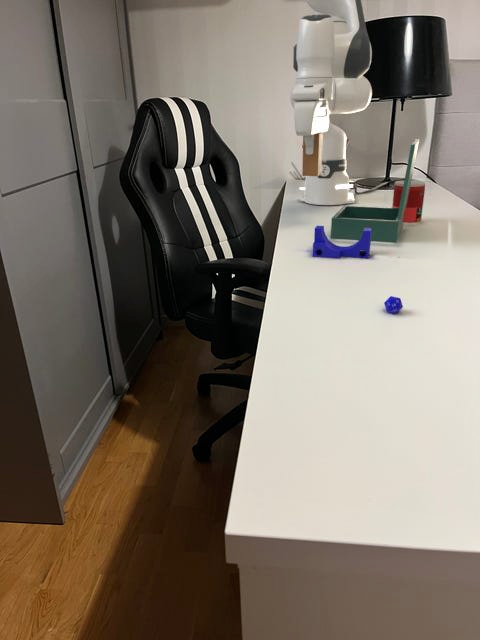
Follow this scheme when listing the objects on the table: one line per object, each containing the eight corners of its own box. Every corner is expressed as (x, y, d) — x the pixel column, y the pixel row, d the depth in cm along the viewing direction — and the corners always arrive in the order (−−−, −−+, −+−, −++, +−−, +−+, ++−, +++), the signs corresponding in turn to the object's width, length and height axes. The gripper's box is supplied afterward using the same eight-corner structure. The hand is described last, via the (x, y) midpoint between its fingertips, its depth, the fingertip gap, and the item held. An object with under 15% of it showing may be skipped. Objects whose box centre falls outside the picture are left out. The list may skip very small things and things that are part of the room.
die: (405, 314, 80) (402, 303, 78) (389, 319, 81) (385, 308, 79) (401, 301, 82) (397, 290, 80) (385, 305, 83) (381, 295, 81)
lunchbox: (330, 241, 123) (331, 218, 121) (342, 226, 137) (344, 205, 135) (396, 245, 118) (398, 221, 115) (402, 230, 132) (404, 208, 130)
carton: (306, 174, 129) (307, 132, 125) (321, 174, 128) (322, 132, 124) (302, 176, 126) (303, 133, 122) (317, 176, 124) (319, 133, 120)
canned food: (422, 225, 136) (427, 184, 131) (391, 225, 137) (395, 184, 133) (419, 219, 143) (423, 180, 138) (390, 219, 144) (393, 180, 140)
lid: (411, 144, 108) (415, 144, 108) (415, 139, 123) (419, 139, 122) (397, 219, 115) (400, 219, 115) (402, 206, 129) (406, 206, 129)
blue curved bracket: (312, 256, 111) (313, 230, 109) (316, 251, 115) (317, 225, 113) (367, 260, 108) (369, 232, 105) (369, 254, 112) (371, 228, 109)
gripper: (311, 93, 129) (310, 149, 135) (289, 92, 112) (289, 157, 117) (335, 92, 127) (333, 149, 132) (317, 91, 110) (315, 157, 115)
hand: (312, 153), depth 125 cm, fingers closed on carton, 4 cm apart
